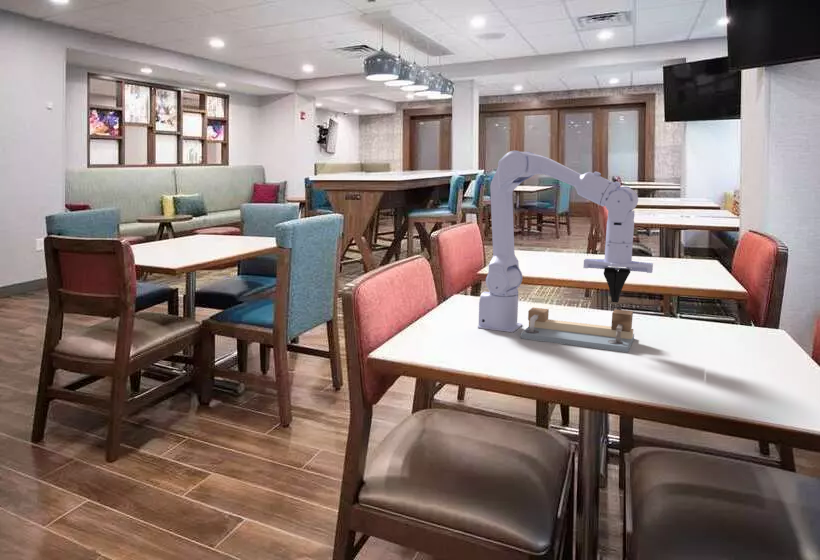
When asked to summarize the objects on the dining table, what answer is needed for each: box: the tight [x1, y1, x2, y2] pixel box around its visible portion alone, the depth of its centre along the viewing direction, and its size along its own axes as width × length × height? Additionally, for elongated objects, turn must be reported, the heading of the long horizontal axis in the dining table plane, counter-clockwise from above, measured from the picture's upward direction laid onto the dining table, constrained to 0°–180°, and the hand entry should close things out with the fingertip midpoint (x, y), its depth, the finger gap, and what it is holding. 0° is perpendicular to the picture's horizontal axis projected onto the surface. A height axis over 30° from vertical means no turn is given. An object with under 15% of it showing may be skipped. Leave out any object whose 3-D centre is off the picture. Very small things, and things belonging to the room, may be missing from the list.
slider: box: [611, 309, 634, 342], centre depth 131 cm, size 4×8×6 cm, turn 153°
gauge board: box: [520, 307, 635, 353], centre depth 135 cm, size 24×12×5 cm, turn 63°
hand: (615, 301), depth 130 cm, fingers closed
